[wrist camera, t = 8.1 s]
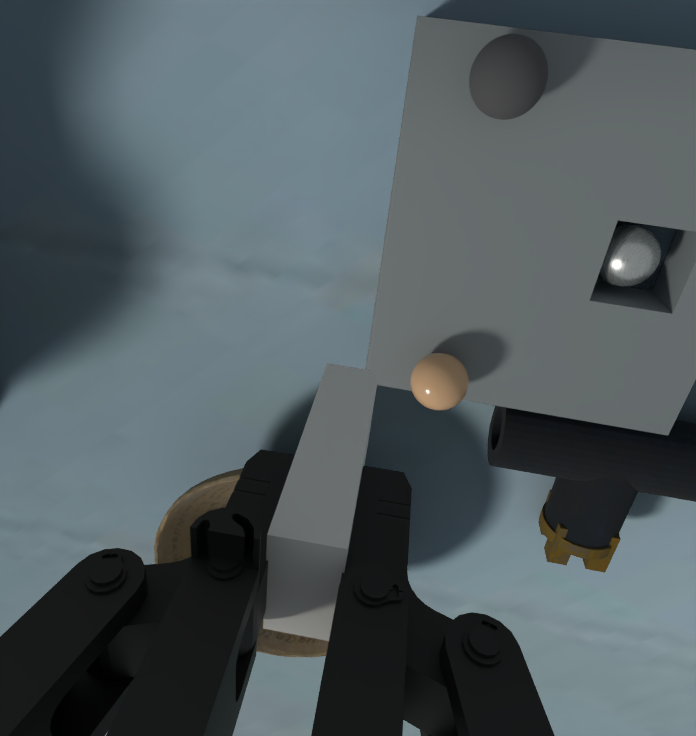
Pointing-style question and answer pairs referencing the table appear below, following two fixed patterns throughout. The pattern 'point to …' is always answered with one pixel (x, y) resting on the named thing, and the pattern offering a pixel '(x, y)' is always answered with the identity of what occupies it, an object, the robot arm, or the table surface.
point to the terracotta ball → (439, 381)
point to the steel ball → (630, 256)
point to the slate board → (543, 229)
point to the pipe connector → (591, 475)
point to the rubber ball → (508, 76)
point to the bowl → (177, 546)
